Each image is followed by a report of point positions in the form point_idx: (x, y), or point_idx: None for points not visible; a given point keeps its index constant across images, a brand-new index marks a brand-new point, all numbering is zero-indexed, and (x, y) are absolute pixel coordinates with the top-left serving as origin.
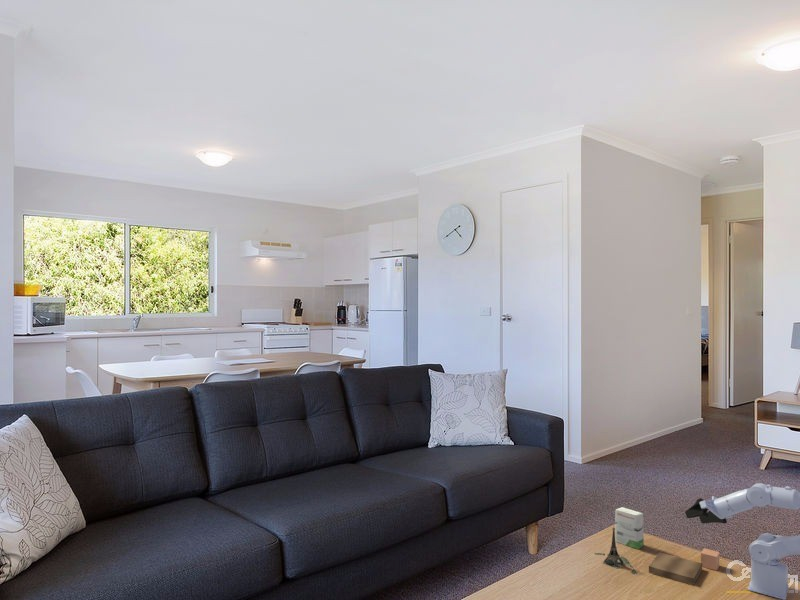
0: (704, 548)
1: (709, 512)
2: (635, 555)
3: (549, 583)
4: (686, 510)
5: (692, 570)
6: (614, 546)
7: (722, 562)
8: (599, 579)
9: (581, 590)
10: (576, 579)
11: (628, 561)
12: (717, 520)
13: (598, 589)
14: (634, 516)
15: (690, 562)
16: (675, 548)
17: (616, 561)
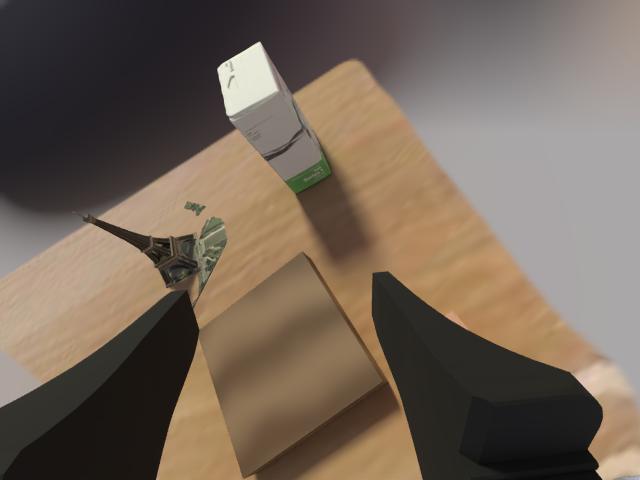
0: (454, 313)
1: (410, 338)
2: (262, 228)
3: (28, 310)
4: (162, 298)
5: (292, 419)
6: (137, 246)
7: (544, 357)
8: (97, 327)
9: (38, 360)
10: (68, 311)
11: (217, 258)
12: (422, 469)
13: (61, 370)
14: (230, 118)
15: (341, 356)
16: (423, 201)
17: (163, 272)
